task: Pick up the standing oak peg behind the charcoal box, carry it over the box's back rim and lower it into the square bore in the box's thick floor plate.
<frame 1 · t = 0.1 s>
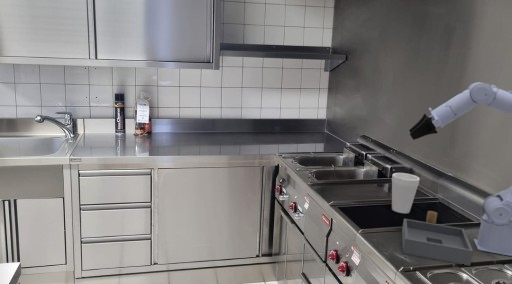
hand: (411, 135, 140), 32 cm above the counter, tool tilted 50°, fingers open, 7 cm apart
foam cup: (400, 210, 167), on the counter
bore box: (433, 247, 136), on the counter
peg: (429, 229, 150), on the counter
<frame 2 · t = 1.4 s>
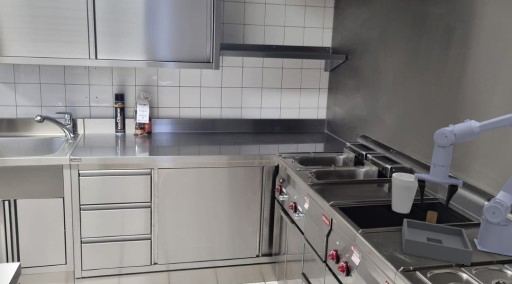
hand: (433, 204, 148), 9 cm above the counter, tool pointing down, fingers open, 7 cm apart
nothing on the counter moved.
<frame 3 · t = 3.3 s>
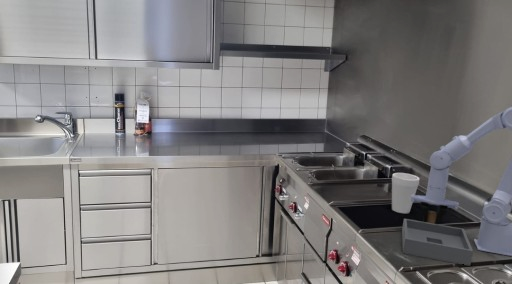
hand: (430, 225, 150), 1 cm above the counter, tool pointing down, fingers closed on peg, 3 cm apart
peg: (429, 229, 150), on the counter, touching gripper
everything else where it was.
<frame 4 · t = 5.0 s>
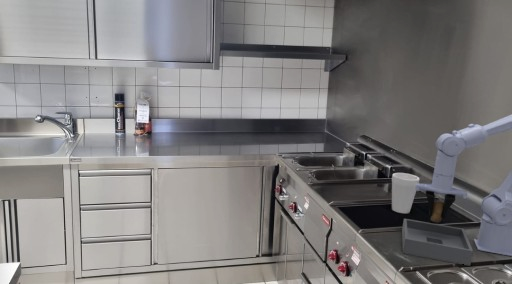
hand: (436, 216, 138), 8 cm above the counter, tool pointing down, fingers closed on peg, 3 cm apart
peg: (435, 220, 139), point 7 cm above the counter, touching gripper
everything else where it was.
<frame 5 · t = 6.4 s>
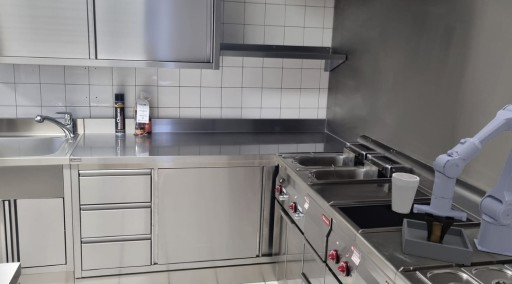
hand: (434, 238, 135), 3 cm above the counter, tool pointing down, fingers closed on peg, 3 cm apart
peg: (434, 242, 136), point 1 cm above the counter, touching gripper
everything else where it was.
when the fingers open (3 cm above the counter, at t = 7.1 s): peg drops 1 cm, resting in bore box.
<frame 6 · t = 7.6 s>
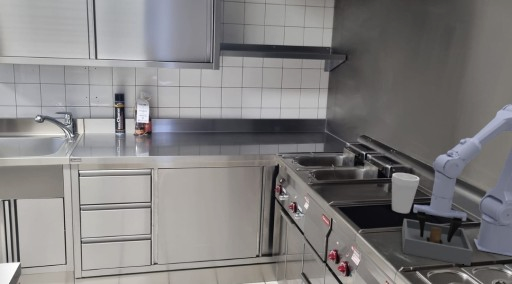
hand: (434, 238, 135), 3 cm above the counter, tool pointing down, fingers open, 7 cm apart
peg: (433, 247, 136), resting in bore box
everything else where it was.
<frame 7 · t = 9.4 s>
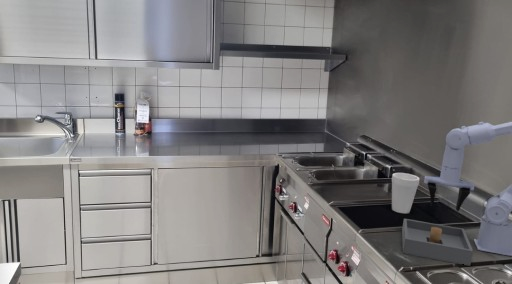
hand: (444, 207, 144), 9 cm above the counter, tool pointing down, fingers open, 7 cm apart
nothing on the counter moved.
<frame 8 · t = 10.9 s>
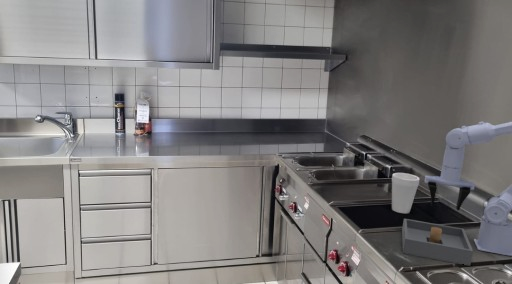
hand: (444, 207, 145), 9 cm above the counter, tool pointing down, fingers open, 7 cm apart
nothing on the counter moved.
at the end: peg 0.1 cm off-centre on the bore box, point 0.0 cm above the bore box's base; peg tilted 0°; the gripper is holding nothing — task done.
